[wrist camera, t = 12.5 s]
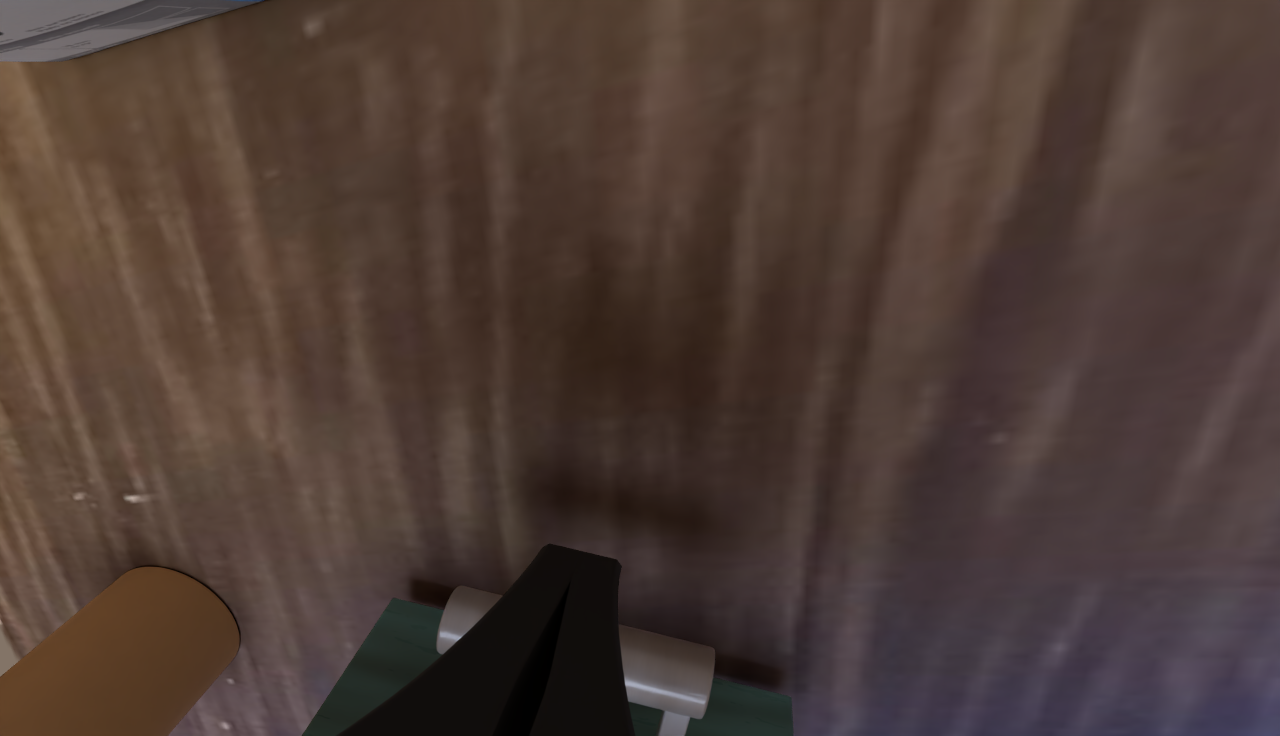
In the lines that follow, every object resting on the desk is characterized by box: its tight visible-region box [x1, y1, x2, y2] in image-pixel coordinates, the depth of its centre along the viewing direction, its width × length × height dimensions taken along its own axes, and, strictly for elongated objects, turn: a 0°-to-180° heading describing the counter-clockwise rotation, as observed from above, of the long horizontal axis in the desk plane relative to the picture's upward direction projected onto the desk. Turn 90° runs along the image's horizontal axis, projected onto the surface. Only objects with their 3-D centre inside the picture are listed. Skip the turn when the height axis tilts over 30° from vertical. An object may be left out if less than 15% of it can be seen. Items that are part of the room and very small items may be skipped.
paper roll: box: [0, 567, 240, 736], centre depth 21 cm, size 5×5×7 cm
